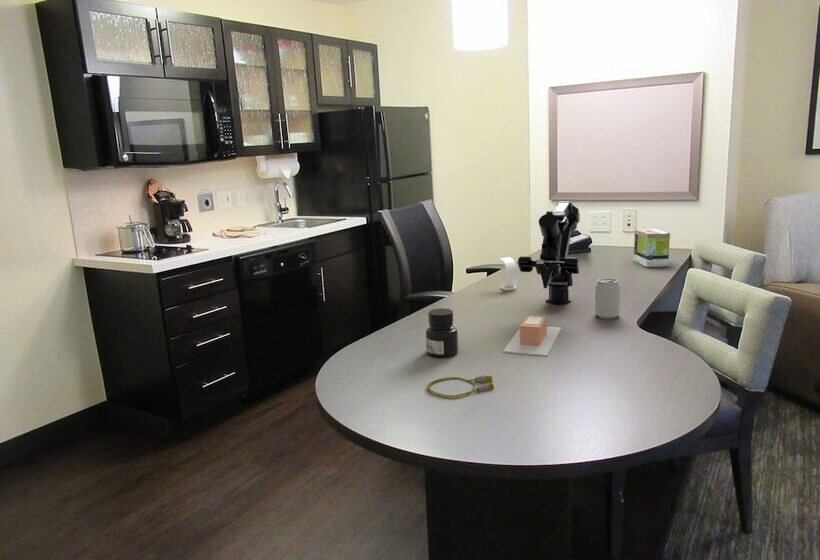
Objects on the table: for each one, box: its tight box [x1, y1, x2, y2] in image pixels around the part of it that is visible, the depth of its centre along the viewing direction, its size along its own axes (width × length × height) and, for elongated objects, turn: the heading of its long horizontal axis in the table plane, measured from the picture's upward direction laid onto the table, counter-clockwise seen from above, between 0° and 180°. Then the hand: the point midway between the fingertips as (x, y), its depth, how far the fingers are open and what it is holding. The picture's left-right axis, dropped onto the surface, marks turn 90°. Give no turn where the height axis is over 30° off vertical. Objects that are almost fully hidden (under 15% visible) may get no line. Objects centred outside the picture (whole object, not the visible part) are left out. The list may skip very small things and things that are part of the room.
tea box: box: [633, 228, 671, 268], centre depth 253 cm, size 15×10×15 cm, turn 179°
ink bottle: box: [425, 307, 459, 359], centre depth 160 cm, size 10×9×12 cm
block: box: [519, 314, 548, 346], centre depth 166 cm, size 6×6×11 cm
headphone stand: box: [498, 256, 519, 292], centre depth 224 cm, size 5×6×12 cm
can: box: [594, 277, 621, 320], centre depth 184 cm, size 8×8×12 cm
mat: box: [502, 326, 562, 357], centre depth 167 cm, size 24×12×1 cm, turn 157°
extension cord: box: [426, 375, 495, 400], centre depth 137 cm, size 12×16×2 cm
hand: (545, 287), depth 180 cm, fingers closed
